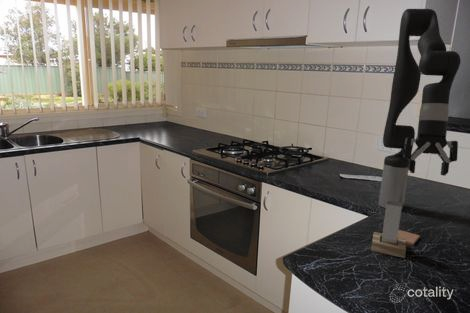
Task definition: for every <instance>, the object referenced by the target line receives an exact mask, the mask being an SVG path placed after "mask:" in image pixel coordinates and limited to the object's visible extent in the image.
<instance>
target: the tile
mask: <svg viewBox="0 0 470 313" xmlns="http://www.w3.org/2000/svg"><path fill="white" fill-rule="evenodd" d="M398 237H403V238H405V240H406V245H409V246H414V245H415V243H417V241H418V240H419V239H420V235H418V234H416V233H415V234H414V233H413V232H412V233H411V232H408V231H404V230H401V229H399V230H398Z"/></svg>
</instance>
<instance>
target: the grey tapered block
mask: <svg viewBox="0 0 470 313" xmlns="http://www.w3.org/2000/svg"><path fill="white" fill-rule="evenodd" d="M402 210H403V209H402V203H399V202H393V201H387V204H386V208H385V213H384V218H383V219H384V220H383V226H382V241H381V242H383V243H388V244H393V245H396V243H397V236H398V230H400V229H399V228H400V222H401V216H402Z"/></svg>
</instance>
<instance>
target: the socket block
mask: <svg viewBox="0 0 470 313" xmlns="http://www.w3.org/2000/svg"><path fill="white" fill-rule="evenodd" d="M382 233H383V232H382ZM382 233H380V232H376V231H374V232H373V233H372V234H373V235H372V242H371V247H370V248H371V249H370V251H371V252H373V253H380V254H384V255H389V256H393V257H399V258H402V259H405V258H406V252H407V244H406V240H405V238H403V237H398V236H397V243H396V245H393V244H388V243H383V242H381V241H382Z"/></svg>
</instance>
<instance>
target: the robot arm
mask: <svg viewBox="0 0 470 313" xmlns="http://www.w3.org/2000/svg"><path fill="white" fill-rule="evenodd" d="M398 35H399V36H398V45H397V55H396V61H395V66H394V72H393V77H392V78H393V79H392V84H391V91H390V98H389V99H390V100H389V107H388V113H387V117H386V121H385V125H384V130H383V137H382V144H383V146H384V147H385V148H386V149H387V148H388V149H399V151H398V152H397V153H394V154H391V155H390V154H389V155H388V156H385V157H384V160H383V169H382V176H381V183H380V191H379V198H378V206H379V207H381V208H384V209H386V204H387V201H393V202H399V203H402V209H401V210H403V209H404V203H405V196H406V188H407V184H408V177H409V176H408V175H409V173H411V174H415V173H416V172H415V170H416V163H417V161H416V159H417V158H418V157H419V156H420V155H422V154H427V155H428V154H431V155H437V156H438V157H439V158H440V159H441V161H442V162H441V165H440V166H441V168H440V175H441V176H447V175H448V173H449V168H450V164H451V163H452V162H453V163H454V162H457V161H458V148H459V146H458V145H459V142H458V141H457V140H447V132H448V123H449V119H450V118H449V105H450V104H449V103H450V94H451V90H452V86H453V83H454V80H455V77H456V76H457V73H458V70H459V68H460V66H461V57H460V54H459V53H458V52H457V51H454V50H447V46H446V43H445V42H444V41H443V39H442V36H441V32H440V26H439V20H438V15H437V13H436V11H435V10H434V9H432V8H406V9H405V10H403V13H402V15H401V18H400V25H399V34H398ZM410 37H419V39H418V42H417V50H418V52H419V55H420V58H419V62H418V64H417V61H416V59H415V58H414V54H413V52H412V49H411V44H410ZM421 75H424V76H432V77H433V76H434V77H435V76H438V77H440V76H441V77H442V78H441V80H440V81H439V82H438V81H437V82H432V83H427V84H425V85H424V86H423V88H422V93H421V94H422V95H421V104H420V109H419V115H418V116H419V117H418V123H417V124H418V125H417V126H418V127H417V134H416V131H415V127H413V126H412V125H406V124H405V125H403V124H402V125H400V124H397V121H398V120H399V116H401V113H402V112H403V110H405V108H406V107H407V106H408V105H409V104H410V102H412V100H414V98H415V97H416V95H417V94H418V92H419V87H420V84H421ZM416 135H417V136H416ZM415 136H416V138H415ZM414 143H415V145H416V149H414V150H413V147H414ZM446 146H447V147H448V148H449V157H448V155H447V153H446V152H445V150H444V148H445V147H446Z"/></svg>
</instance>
